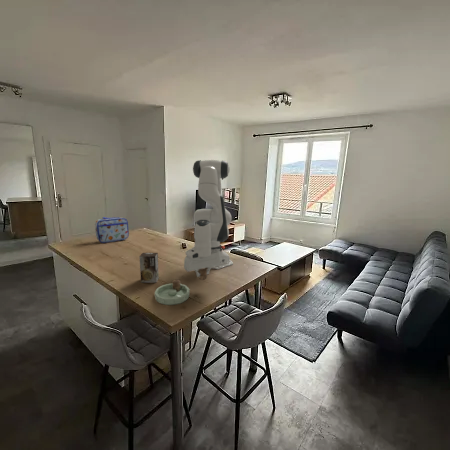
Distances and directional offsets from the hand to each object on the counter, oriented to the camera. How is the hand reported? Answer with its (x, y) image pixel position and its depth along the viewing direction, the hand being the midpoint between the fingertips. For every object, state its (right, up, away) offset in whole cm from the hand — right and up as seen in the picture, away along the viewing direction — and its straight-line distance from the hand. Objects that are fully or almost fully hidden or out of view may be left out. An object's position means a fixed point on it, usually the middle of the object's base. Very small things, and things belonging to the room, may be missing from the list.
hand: (202, 275), depth 130 cm
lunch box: (-90, +12, +88) cm, 126 cm away
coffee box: (-32, -6, +11) cm, 35 cm away
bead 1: (-14, -8, -1) cm, 16 cm away
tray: (-15, -10, -6) cm, 19 cm away
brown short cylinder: (0, -2, 0) cm, 2 cm away
